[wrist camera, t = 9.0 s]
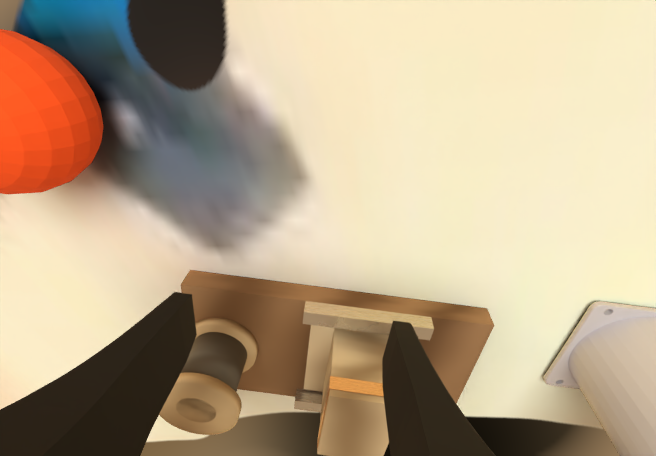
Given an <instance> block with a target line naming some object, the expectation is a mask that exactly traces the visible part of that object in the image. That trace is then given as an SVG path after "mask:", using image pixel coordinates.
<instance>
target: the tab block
mask: <svg viewBox="0 0 656 456" xmlns="http://www.w3.org/2000/svg"><path fill="white" fill-rule="evenodd" d="M388 337H389V335H385V334H377V333H369V332H362V331H354V330H346V329H339V328H334V333H333V338H332V343H331V348H330V353H329V359H328V364H327V369H326V374H325V379H324V385H323V396H322V407H321V418H320V428H319V433H318V441H317V448H318V450H317V454H321V455H328V456H383V455H384V453H385V450H386V448H387V445H388V443H389V438H388V429H387V421H386V413H385V404H384V396H383V382H382V358H383V355H384V351H385V348H386V344H387V340H388Z"/></svg>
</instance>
